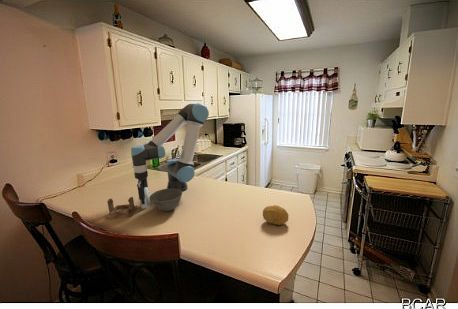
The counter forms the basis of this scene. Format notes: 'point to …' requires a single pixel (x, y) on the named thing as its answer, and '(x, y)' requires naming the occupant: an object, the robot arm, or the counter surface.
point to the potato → (275, 215)
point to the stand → (121, 209)
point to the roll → (146, 197)
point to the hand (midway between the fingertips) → (145, 205)
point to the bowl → (166, 198)
